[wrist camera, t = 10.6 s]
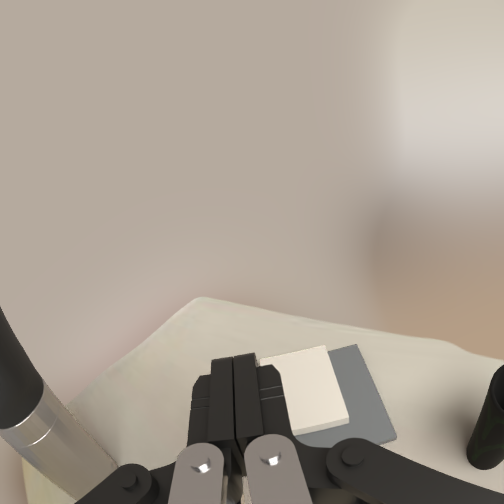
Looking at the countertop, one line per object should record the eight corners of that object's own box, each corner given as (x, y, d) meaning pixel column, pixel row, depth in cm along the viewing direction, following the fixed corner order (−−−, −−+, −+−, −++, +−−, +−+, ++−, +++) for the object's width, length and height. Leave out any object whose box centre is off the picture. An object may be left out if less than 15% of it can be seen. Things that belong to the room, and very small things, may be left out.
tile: (266, 434, 33) (259, 358, 46) (269, 440, 34) (261, 365, 47) (349, 417, 33) (324, 344, 46) (349, 423, 34) (325, 351, 46)
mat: (231, 475, 31) (229, 472, 31) (231, 374, 47) (229, 371, 47) (396, 439, 30) (396, 436, 30) (356, 347, 46) (356, 344, 46)
